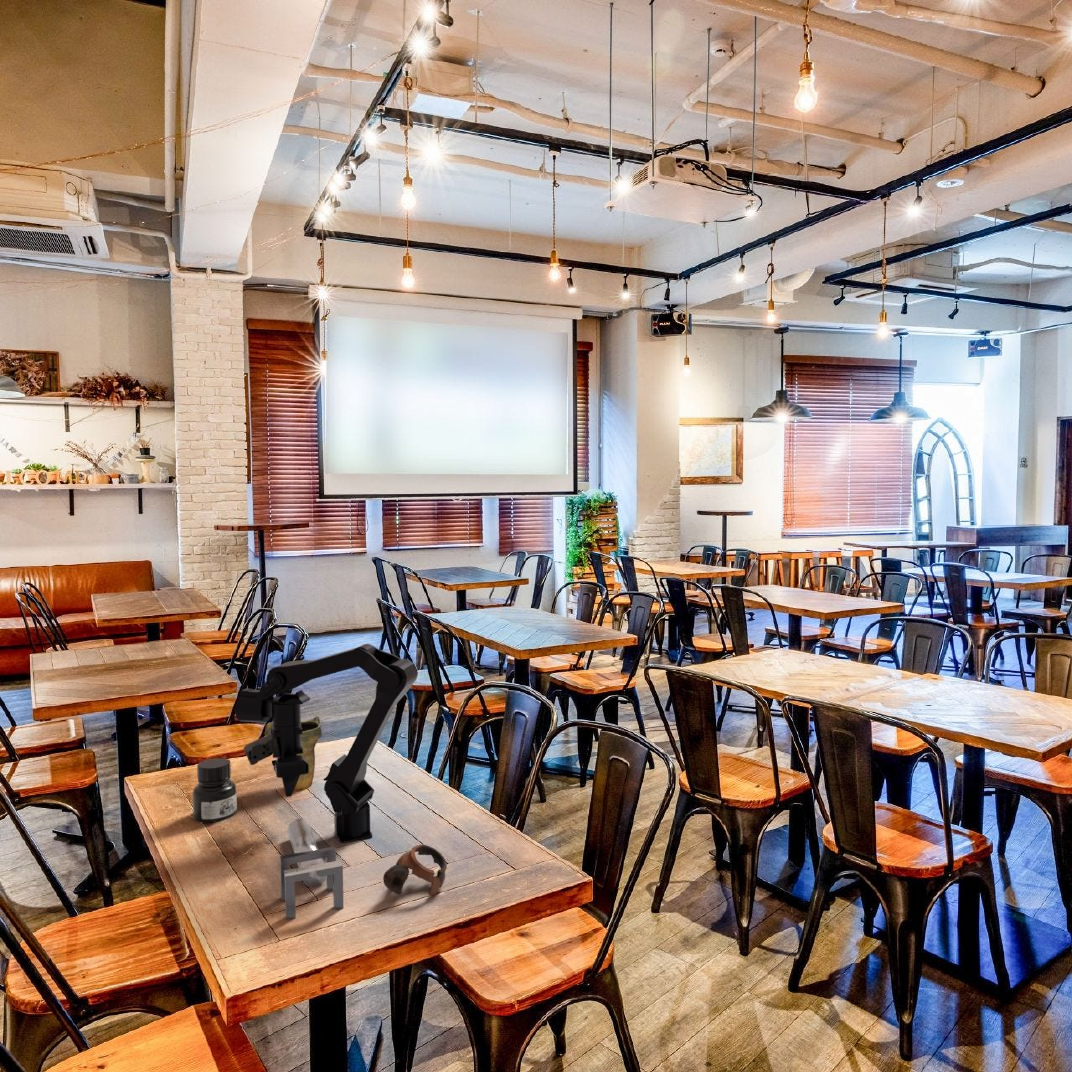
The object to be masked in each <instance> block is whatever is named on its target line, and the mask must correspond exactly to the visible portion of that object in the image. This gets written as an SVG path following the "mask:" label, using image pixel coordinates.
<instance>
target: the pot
mask: <svg viewBox="0 0 1072 1072" xmlns="http://www.w3.org/2000/svg"><path fill="white" fill-rule="evenodd" d="M320 723H321V722H320V717H319V716H318V715H316V716H314V717H313V718H311V719H309V720H306V721H304V720H301V728H302V734H301V746H302V748H303V753H301V754H297V755H302V756H303V757H304V758H306V760H307V762H308V766H309V773H307V774H303V775H300V777H299V779H298V782H297V784H296V787H295V789H294V791H300V790H299V789H302V790H307V789H309V788H310V787H312V784H313V781H314V778H315V777H314V776H315V768H316V755H315V754H316V753H315V749H316V746H317V745H316V744H317V742H318V740H319V739H321V738H322V736H323V732H322V729H321V728H322V725H321V724H320ZM270 729H272V722H267V724H266V726H265V728H264V731H265V732H264V736H268V735H270Z"/></svg>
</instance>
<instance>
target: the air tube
mask: <svg viewBox="0 0 1072 1072" xmlns="http://www.w3.org/2000/svg"><path fill="white" fill-rule="evenodd" d="M287 834H288V837H289V841H290V845H291V848H292V851H293V854H295V853H301V852H307V851H312V850H318V849H319V847H318V843H317V841H316V838H315V836H314V833H313V831H312V828H311V825H310V823H309V821H308V820H307V819H305V818H296V819H294V820H292V821H291V822H289V825H288V827H287ZM323 863H325V861H324V858H321V859H316V860H310V861H305V862H299V863H296V864H297V868H301V867H306V866H312V865H317V864H323ZM309 873H310V879H307V880H302V883H303V884H304V885H305V886H306V887H308V888H309V887H310V888H311V887H315V886H320V885H322V884H323V883H324V882H325V880H327V876H323V877H319V875H318V871H312V872H309Z"/></svg>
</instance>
